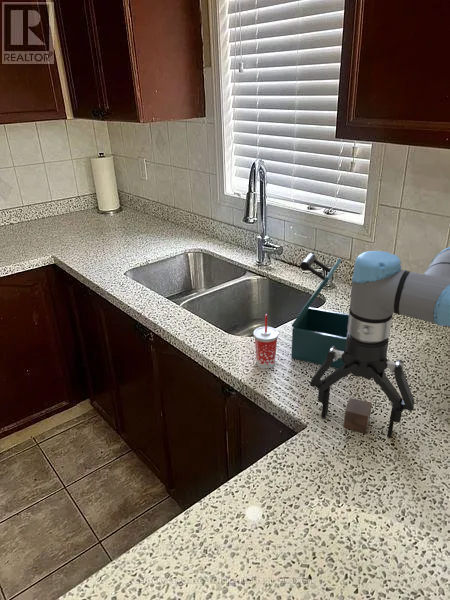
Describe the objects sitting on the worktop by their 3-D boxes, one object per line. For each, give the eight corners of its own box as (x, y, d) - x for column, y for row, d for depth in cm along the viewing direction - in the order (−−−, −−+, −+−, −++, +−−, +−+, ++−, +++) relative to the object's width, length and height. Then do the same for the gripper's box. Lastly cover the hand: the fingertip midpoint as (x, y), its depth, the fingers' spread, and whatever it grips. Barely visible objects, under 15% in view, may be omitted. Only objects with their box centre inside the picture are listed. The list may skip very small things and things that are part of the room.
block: (369, 419, 93) (372, 402, 91) (365, 434, 90) (368, 416, 88) (347, 414, 95) (349, 397, 93) (343, 427, 91) (345, 410, 89)
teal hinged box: (362, 346, 118) (366, 317, 114) (353, 372, 108) (356, 341, 104) (305, 334, 124) (306, 306, 120) (291, 358, 114) (292, 328, 110)
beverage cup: (282, 365, 112) (284, 316, 105) (263, 373, 109) (263, 323, 103) (268, 353, 116) (268, 306, 110) (248, 361, 114) (248, 313, 107)
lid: (341, 259, 111) (316, 243, 112) (329, 279, 101) (301, 260, 102) (308, 306, 120) (285, 290, 121) (293, 327, 110) (268, 310, 111)
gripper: (297, 330, 84) (293, 417, 94) (439, 359, 75) (418, 453, 84) (308, 313, 90) (303, 396, 100) (441, 337, 81) (422, 427, 90)
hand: (356, 422), depth 92 cm, fingers open, 12 cm apart
